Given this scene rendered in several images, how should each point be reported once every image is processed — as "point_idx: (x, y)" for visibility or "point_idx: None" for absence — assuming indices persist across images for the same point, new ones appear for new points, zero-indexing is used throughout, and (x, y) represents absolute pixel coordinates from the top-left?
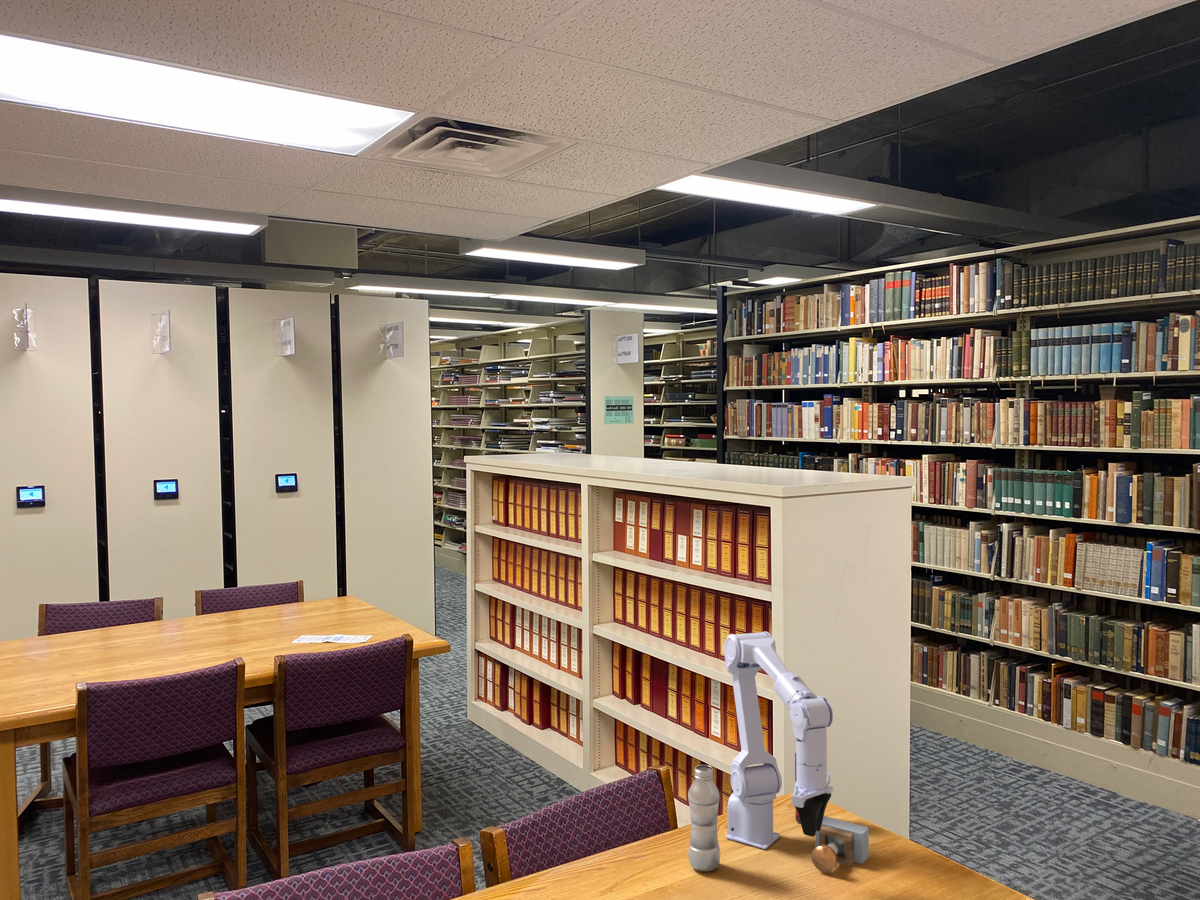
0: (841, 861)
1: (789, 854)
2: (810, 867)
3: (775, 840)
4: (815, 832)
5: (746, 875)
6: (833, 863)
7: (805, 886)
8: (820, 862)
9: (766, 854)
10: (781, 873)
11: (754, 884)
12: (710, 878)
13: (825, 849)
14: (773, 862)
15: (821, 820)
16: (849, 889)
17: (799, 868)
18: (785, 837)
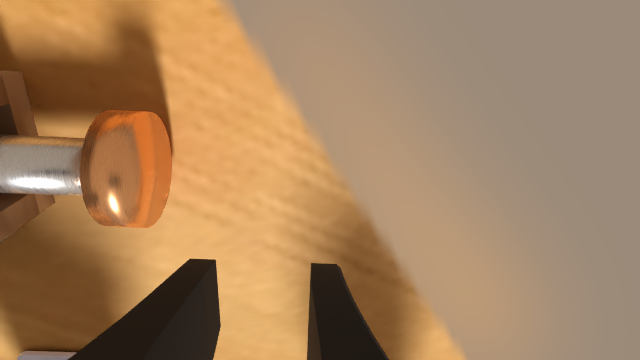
0: (24, 114)
1: (117, 289)
2: None
3: (67, 352)
4: (317, 275)
5: None
6: (145, 118)
7: (303, 174)
8: (157, 175)
9: None
10: (264, 268)
11: (384, 307)
12: None
13: (125, 178)
14: None
15: (176, 310)
16: (219, 12)
17: (188, 232)
18: (13, 335)
